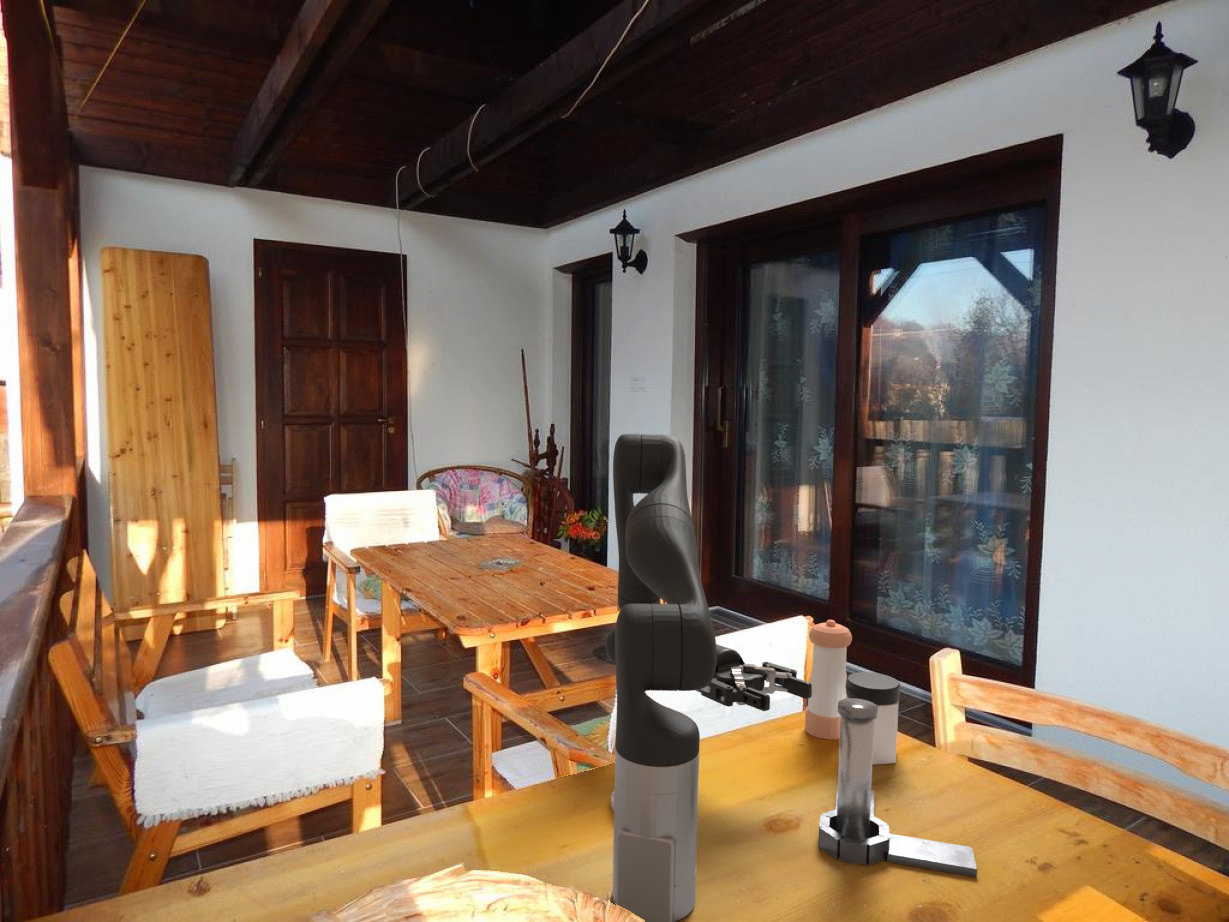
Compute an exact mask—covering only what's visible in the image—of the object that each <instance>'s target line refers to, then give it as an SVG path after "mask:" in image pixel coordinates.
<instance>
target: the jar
mask: <svg viewBox="0 0 1229 922" xmlns="http://www.w3.org/2000/svg"><path fill="white" fill-rule="evenodd" d="M900 693H901V683H900V681H899V680H897V679H896V678H894V677H893V676H890V675H888V674H882V673H878V672H871V671H866V672H865V671H861V672H854V673H851V674H848V675H847V678H846V694H847V695H846V699H848V698H855V699H863V700H867V701H870V702H872V703H874V704H876V705H877V706H878V717H877V718H876V719H874V734H873V758H872V766H873V765H874V766H875V765H889V764H890V765H891V764H896V762H897V746H898V745H897V742H898V726H899V725H898V723H899V722H898V720H899V703H900V697H901V696H900Z"/></svg>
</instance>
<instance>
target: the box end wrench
mask: <svg viewBox="0 0 1229 922" xmlns="http://www.w3.org/2000/svg"><path fill="white" fill-rule="evenodd" d="M837 796H838V784H837V787H836V797H835V798H836V799H835V809H832V810H829V811H826V812H822V813H821V814H820V816H819V824H818V843H817V845H818V847H819V848H820V849H821V850H822V851H824V852H825V853H827V854H828V855H830V856H831V857H833V858H834V859H835V860H839V861H840V862H844V863H845V862H846V863H850V864H856V865H861V866H862V865H863V866H871V865H874V864H877V863H880V862H883V861H887V863H893V864H897V865H898V864H900V865H905V866H910V867H911V866H912V867H914V868H915V867H916V868H922V869H928V870H933V871H938V872H945V873H950V874H956V875H962V876H967V877H974V878H977V877H978V876H977V875H978V867H977V864H976V863H977V862H976V859H975V858H976V857H975V854H974V850H973V847H972V846H967V845H962V844H955V843H948V842H942V841H936V840H930V839H926V838H925V839H924V838H917V837H912V836H906V835H900V834H893V833H890V825H889V824H888V823H887V822H885V821H883V820H882V819H881V818H879V817H877V816H875V791H874V790H872V789H871V806H870V829H869V839H866V840H862V839H856V838H850V837H844V836H842V835H840V834H839V833H837V832H836V822H837Z"/></svg>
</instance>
